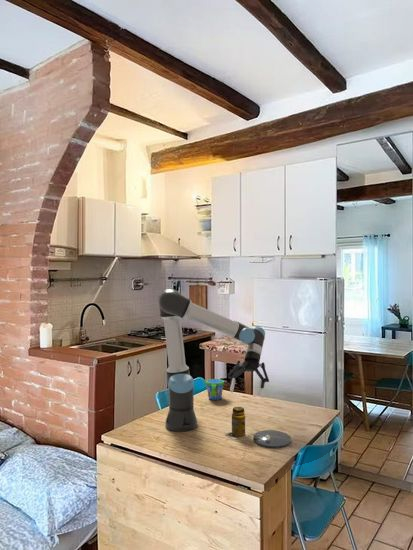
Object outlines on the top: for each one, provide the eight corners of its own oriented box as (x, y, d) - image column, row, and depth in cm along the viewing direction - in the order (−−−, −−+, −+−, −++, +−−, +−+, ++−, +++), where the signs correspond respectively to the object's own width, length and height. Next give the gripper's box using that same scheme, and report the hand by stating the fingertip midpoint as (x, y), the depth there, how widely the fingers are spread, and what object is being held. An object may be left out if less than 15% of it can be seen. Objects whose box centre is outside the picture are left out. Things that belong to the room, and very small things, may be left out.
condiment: (249, 435, 188) (249, 409, 188) (234, 440, 184) (234, 412, 184) (239, 430, 194) (239, 404, 194) (224, 434, 190) (224, 408, 190)
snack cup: (209, 394, 252) (208, 377, 252) (226, 395, 250) (226, 378, 250) (202, 402, 237) (202, 383, 237) (221, 403, 235) (221, 385, 235)
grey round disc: (248, 444, 179) (248, 434, 179) (258, 431, 193) (258, 421, 193) (286, 450, 172) (286, 439, 172) (293, 436, 187) (293, 426, 187)
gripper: (279, 360, 211) (272, 399, 197) (231, 357, 220) (222, 393, 206) (276, 351, 206) (269, 390, 192) (228, 348, 215) (218, 385, 201)
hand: (244, 392), depth 199 cm, fingers open, 13 cm apart
